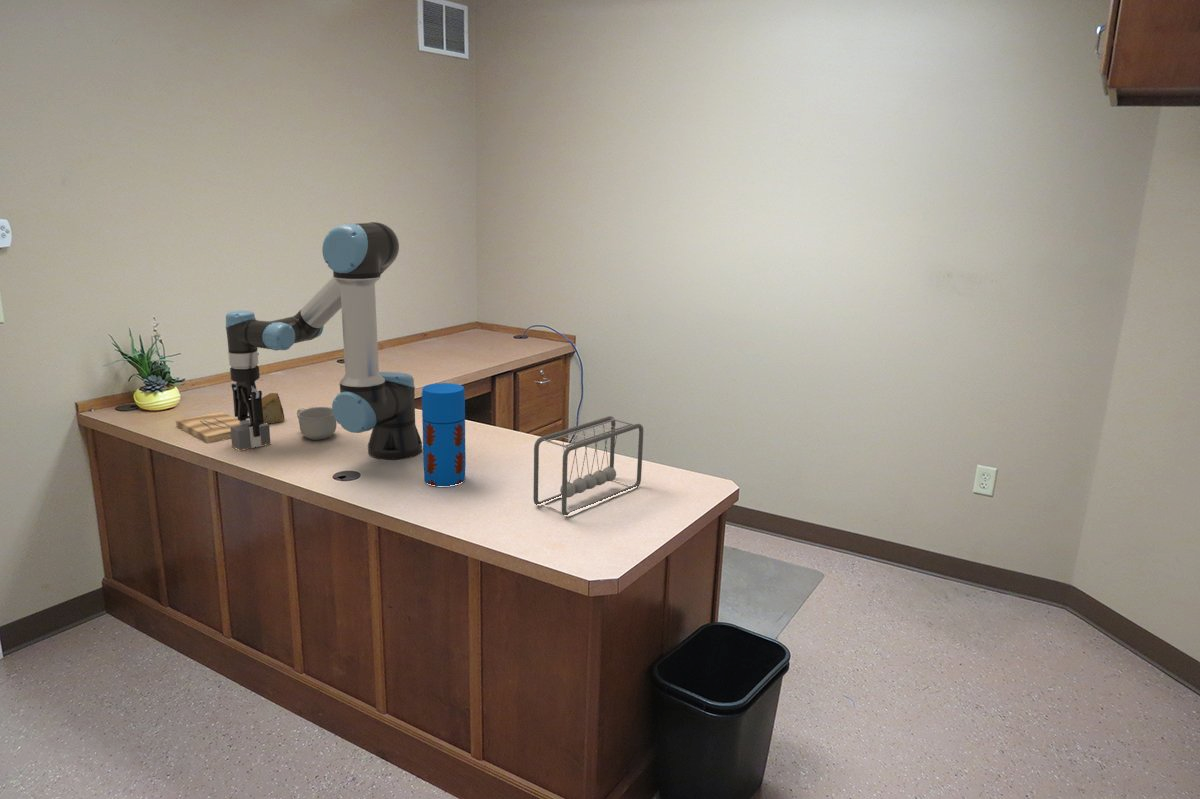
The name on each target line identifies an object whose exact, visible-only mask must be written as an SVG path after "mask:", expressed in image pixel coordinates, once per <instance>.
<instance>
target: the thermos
mask: <svg viewBox="0 0 1200 799" xmlns="http://www.w3.org/2000/svg"><path fill="white" fill-rule="evenodd" d="M421 389H422V390H421V391H422V392H421V415H422V416H421V418H422V419H421V420H422V421H421V422H422V424H421V425H422V454H423V455H422V456H423V458H422V460H423V461H422V462H423V475H424V482H425V481H426V483H428V484H431V485H435V486H450V485H455V484H459V483H461V482H463V481H464V480H465V481H466V464H467V463H466V461H467V460H466V397H465V396H466V394H465V393H466V392H465V387H464V386H463V385H461V384H458V383H450V382H440V383H439V382H438V383H430V384H425V385H424V386H423V387H422V388H421ZM465 481H464V482H465ZM464 482H463V483H464ZM426 483H425V484H426ZM428 484H427V485H428Z"/></svg>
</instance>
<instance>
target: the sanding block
mask: <svg viewBox="0 0 1200 799" xmlns="http://www.w3.org/2000/svg"><path fill="white" fill-rule="evenodd" d="M248 425H251V423H249V424H244V425H239V426H234V427H230V429H231V438H230V439H231V447H232V446H233V447H235V448H237V449H239V450H242V451H244V450H243V449H247V448H251V441H250V430H249V426H248ZM260 435H261V445H265V444H269V445H271V444H270V443H271V431H270V424H266V423H264V424H261V425H260ZM265 446H266V445H265ZM233 447H232V448H233ZM235 448H234V449H235ZM237 449H236V450H237ZM251 449H252V448H251ZM239 450H238V451H239ZM247 450H248V449H247Z"/></svg>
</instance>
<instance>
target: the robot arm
mask: <svg viewBox="0 0 1200 799" xmlns="http://www.w3.org/2000/svg"><path fill="white" fill-rule="evenodd" d="M399 243H400V241H399V239H398V237H397V235H396V232H395V231H394V230H393V229H392V228H391V227H389V226H388V225H387V224H384V223H381V222H377V221H376V222H373V221H372V222H359V223H344V224H342V225H341V224H339V225H337V226H335V227H333V228H331V230H330V231H328V232H327V234H326V235H325V238H324V240H323V242H322V247H321V248H322V250H321V251H322V252H321V253H322V256H323V260H324V262H325V264H327V267H328V268H329V269H330V270H332V271H333V272H332V275H333V276H332V277H331V278H330V279H329V280H328V281H327V282H326V283H325V284H324V285H322V287H321V288H320V289H319V290H318V291H317V293H315V294H314V295H313V296H312V297H311V298H310V299H309V300H308V301H307V303H305V305H304V306H302V307H301V309H300V310H298V312H296V314H295V315H292V316H289V317H285V318H279V319H275V320H270V321H269V320H267V321H266V320H259V319H257V318H256V317H255V313H254V312H253V311H251V310H233V311H229V312H227V313H226V315H225V331H226V338H227V339H226V340H227V348H228V350H227V351H228V352H227V353H228V364H229V366H230V368H229V372H230V373H229V374H230V380H231V381H233V383H231V384H230V385H231V386H230V387H231V389H232V398H233V400H232V401H233V411H234V412H233V413H234V414H233V415H234V418H237V419H238V420H240V421H239V424H240V425H244V424H249V423H251V425H248V426H249V430H250V441H251V449H255V447H256V448H259V447H262V446H261V435H260V425H261V424H264V419H263V409H262V396H263V392H262V390H257V385H256V381H257V380H259V379H260V377H261V376H260V366H259V355H260V353H259V352H258V349H259V348H260V349H266V350H272V351H287V350H289V349H291V347H292V346H293V345H294V344H298V343H302V342H306V341H307V342H308V341H311V340H315V339H317V338H319V337H320V336H321V335H322V333H323V331H324V327H325V326H324V325H326V324H327V323H328V322H329V321H330V320H331V319H332V318H333V317H334V316H335V315H336V314H337V313H338V312H339V311H340V310H341V321H342V322H341V323H342V340H343V356H344V376H343V377H342V378H340V380H339V393H337V395H336V396H335V397H334V399H333V400H332V404H331V408H332V411H333V415H334V417H335V419H336V423H337V424H338V425H340V426H341V428H343V430H345V431H347V432H349V433H353V434H354V433H355V434H361V433H364V432H369V431H371V434H370V437H369V441H368V444H367V452H368V455H370V456H371V457H373V458H376V459H381V460H403V459H407V458H412V457H415V456H418V455H420V454H421V452H422V453H423V440H422V439H421V436H420V434H419V431H418V428H417V426H416V405H415V404H416V403H415V401H416V398H415V396H416V395H415V391H416V390H415V389H416V387H415V379H414V377H413V375H411V374H409V373H405V372H397V371H380V370H379V369H380V368H379V352H378V351H379V348H378V346H379V345H378V328H377V327H378V326H377V325H378V324H377V322H378V321H377V306H376V305H377V303H376V302H377V301H376V284H377V282H378V281H379V280H380V279H381V275H382V274H383V273H385V271H386V270H387V269H388V268H389V267H390V266H392V264H393V263H394V262H395V261H396V259H397V258H398V257H397V256H398V255H399V251H400V244H399Z"/></svg>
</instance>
